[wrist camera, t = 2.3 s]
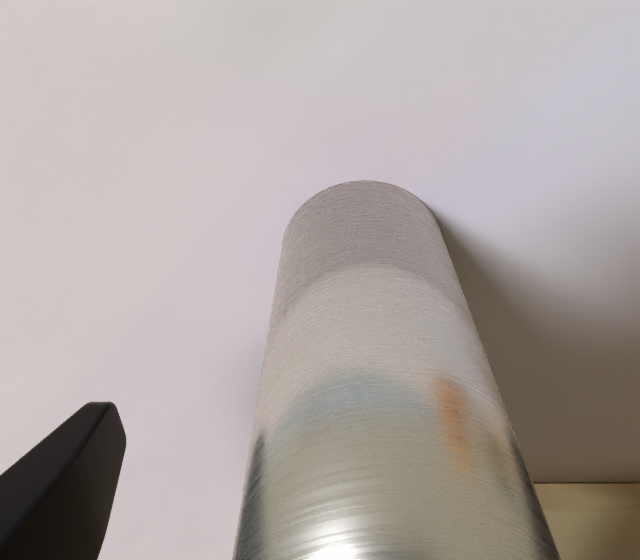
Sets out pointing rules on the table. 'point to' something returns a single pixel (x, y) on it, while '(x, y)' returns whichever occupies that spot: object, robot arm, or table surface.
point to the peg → (380, 401)
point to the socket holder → (593, 519)
